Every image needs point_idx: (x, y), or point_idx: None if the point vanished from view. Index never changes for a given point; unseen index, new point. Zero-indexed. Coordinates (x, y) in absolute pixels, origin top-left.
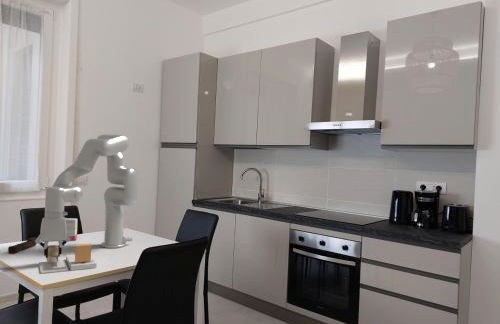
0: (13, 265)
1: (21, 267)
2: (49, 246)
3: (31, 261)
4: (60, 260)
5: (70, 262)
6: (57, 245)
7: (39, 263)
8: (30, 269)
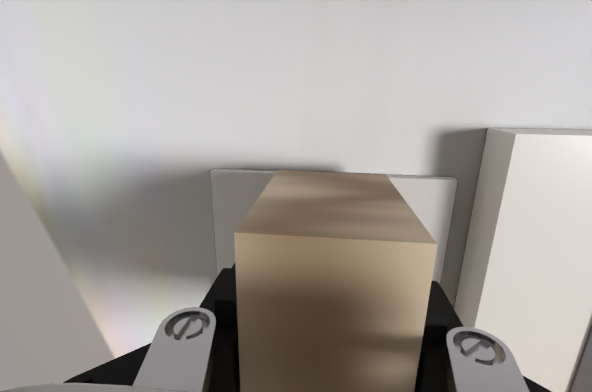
0: (11, 149)
1: (87, 239)
2: (268, 332)
3: (141, 57)
4: (415, 186)
5: None
6: (421, 310)
7: (215, 218)
8: (160, 319)
